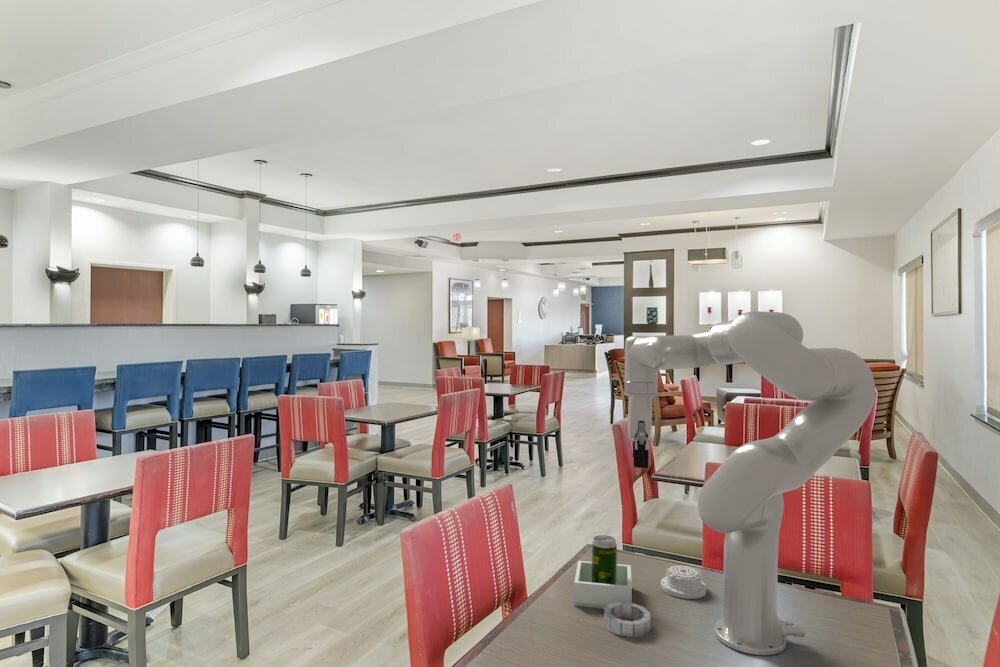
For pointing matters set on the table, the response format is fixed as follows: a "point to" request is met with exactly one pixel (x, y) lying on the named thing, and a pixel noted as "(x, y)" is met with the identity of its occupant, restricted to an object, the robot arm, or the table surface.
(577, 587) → the bin
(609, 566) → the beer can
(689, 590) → the mechanical component
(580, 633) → the table surface
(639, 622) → the collar
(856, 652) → the table surface
